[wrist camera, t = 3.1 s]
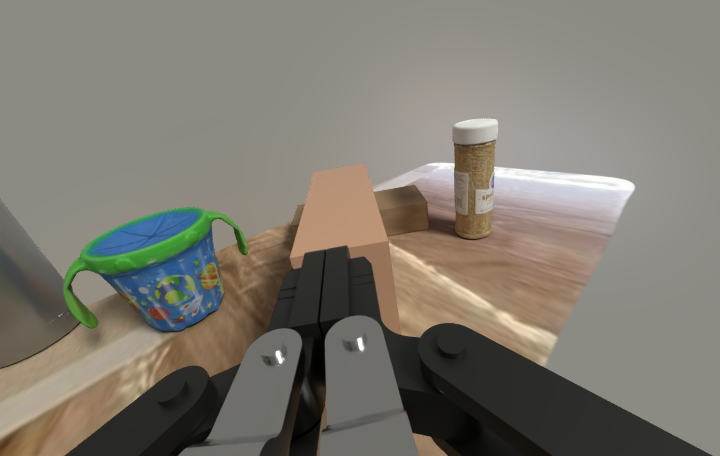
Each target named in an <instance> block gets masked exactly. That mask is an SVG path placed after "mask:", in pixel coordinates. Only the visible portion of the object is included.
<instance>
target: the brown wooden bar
mask: <svg viewBox="0 0 720 456" xmlns="http://www.w3.org/2000/svg"><path fill="white" fill-rule="evenodd" d="M374 195H375V199H376V202H377V205H378V208H379V212H380V215H381V218H382V222H383V225H384V228H385V231H386V235H387V236H392V235H397V234H403V233H409V232H415V231H420V230H426V229H429V223H428V207H427V201H426V200H425V198H424V197H423V196H422V194H421V193H420V191H419V190H418V189H417V187H416V186H415V185H411V186H405V187H400V188H394V189H388V190H383V191H377V192H374ZM304 206H305V204H304V205H298V207H297V209H296V212H295V215H294V219H293V221H292V224H291V228H292V231H293V234H294V238H295V237H296V234H297V230H298V227H299V223H300V220H301V216H302V213H303V209H304Z"/></svg>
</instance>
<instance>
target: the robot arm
mask: <svg viewBox="0 0 720 456" xmlns="http://www.w3.org/2000/svg"><path fill="white" fill-rule="evenodd" d="M63 286H64V279H63V278H62V277H61V275H60V274H59V273H58V272H57V270H56V269H55V268H54V267H53V265H52V264H51V263H50V261H49V260H48V259H47V258H46V256H45V255H44V254H43V253H42V251H41V250H40V249H39V247H38V246H37V245H36V244H35V242H34V241H33V240H32V239H31V237H30V236H29V235H28V233H27V232H26V231H25V230H24V228H23V227H22V226H21V225H20V223H19V222H18V221H17V220H16V218H15V217H14V216H13V214H12V213H11V212H10V211H9V210H8V208H7V207H6V206H5V204H4V203H3V202H2V201H1V199H0V368H1V367H5V366H8V365H11V364H13V363H16V362H18V361H21V360H23V359H25V358H27V357H29V356H32V355H34V354H35V353H37V352H39V351H41V350H43V349H45V348H46V347H48V346H50V345H51V344H53V343H54V342H56V341H57V340H59V339H60V338H62V337H63V336H64V335H66V334H67V333H68V332H70V331H71V330H72V329H73V328H74V327H75V326H76V325H77V324H78V323H79V322H80V321H78V320H77V319H76V318H75V316H74V315H73V314H72V312H71V311H70V309H69V308H68V306H67V304H66V301H65V297H64V293H63ZM73 294H74V293H73ZM74 295H75V294H74ZM75 296H76V295H75ZM76 297H77V296H76ZM77 298H78V297H77ZM78 300H79V299H78ZM79 301H80V300H79ZM80 302H81V301H80ZM81 303H82V302H81ZM325 400H326V403H327V408H326V405H325ZM413 433H416V434H421V435H425V436H430V437H431V438H432V439H433V441H434V442H435V443H436V444H437V446H438V447H439V448H441V449H442V450H443V451H444V452H445V453H446V454H447V455H448V456H712V455H710V454H708V453H706V452H704V451H703V450H701V449H699V448H697V447H695V446H693V445H691V444H689V443H687V442H685V441H683V440H682V439H680V438H678V437H676V436H674V435H672V434H670V433H668V432H666V431H664V430H662V429H660V428H659V427H657V426H655V425H653V424H651V423H649V422H647V421H645V420H643V419H641V418H640V417H638V416H636V415H634V414H632V413H630V412H628V411H626V410H624V409H622V408H620V407H618V406H617V405H615V404H613V403H611V402H609V401H607V400H605V399H603V398H601V397H599V396H598V395H596V394H594V393H592V392H590V391H588V390H586V389H584V388H582V387H580V386H578V385H577V384H575V383H573V382H571V381H569V380H567V379H565V378H563V377H561V376H559V375H557V374H556V373H554V372H552V371H550V370H548V369H546V368H544V367H542V366H540V365H538V364H536V363H535V362H533V361H531V360H529V359H527V358H525V357H523V356H521V355H519V354H517V353H516V352H514V351H512V350H510V349H508V348H506V347H504V346H502V345H500V344H498V343H496V342H495V341H493V340H491V339H489V338H487V337H485V336H483V335H481V334H479V333H477V332H475V331H474V330H472V329H470V328H468V327H465V326H463V325H459V324H454V323H443V324H438V325H435V326H432V327H431V328H429V329H427V330H426V331H425V332H424V333H423V334H422V336H421V338H419V337H409V336H403V335H400V334H397V333H395V332H393V331H391V330H389V329H388V328H387V327H386V326H385V325H384V324H383V322H382V319H381V313H380V307H379V302H378V296H377V291H376V285H375V280H374V274H373V269H372V264H371V263H370V262H369V261H368V260H367V259H366V258H365V257H364V256H363V257H357V258H352V259H351V258H350V253H349V249H348V246H347V245H345V246H339V247H334V248H328V249H327V250H326V249H323V250H317V251H312V252H306V253H305V254H304V257H303V262H302V266H301V268H296V269H292V270H291V271H290V272H289V273H288V275H287V276H286V277H285V278H284V279H283V282H282V286H281V289H280V292H279V295H278V301H277V302H276V305H275V309H274V312H273V315H272V319H271V322H270V325H269V329H268V332H267V333H266V334H264V335H262V336H261V337H259V338H258V339H257V340H256V341H254V342H253V344H252V345H251V346H250V347H249V349H248V350H247V352H246V354H245V356H244V358H243V361H242V363H241V364H239V365H237V366H235V367H232V368H230V369H228V370H226V371H223V372H221V373H219V374H217V375H214V376H212V377H209V375H208V373H207V372H206V370H205V369H204V368H202V367H199V366H188V367H184V368H181V369H178V370H176V371H174V372H172V373H171V374H169V375H167V376H166V377H164V378H163V379H162V380H160V381H159V382H158V383H156V384H155V385H154V386H153V387H151V388H150V389H149V390H148V391H146V392H145V393H144V394H142V395H141V396H140V397H139V398H137V399H136V400H135V401H134V402H132V403H131V404H130V405H129V406H127V407H126V408H125V409H123V410H122V411H121V412H120V413H118V414H117V415H116V416H115V417H113V418H112V419H111V420H110V421H108V422H107V423H106V424H104V425H103V426H102V427H101V428H99V429H98V430H97V431H96V432H94V433H93V434H92V435H90V436H89V437H88V438H87V439H85V440H84V441H83V442H82V443H80V444H79V445H78V446H77V447H75V448H74V449H73V450H71V451H70V452H69V453H68V454H66V455H65V456H419V455H418V451H417V448H416V444H415V440H414V437H413Z"/></svg>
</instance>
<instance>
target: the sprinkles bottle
mask: <svg viewBox="0 0 720 456" xmlns="http://www.w3.org/2000/svg"><path fill="white" fill-rule="evenodd" d="M497 135H498V121H497V120H495V119H473V120H466V121H462V122H458V123H456V124H455V125H454V126H453V142H454V147H455V168H454V188H455V210H456V225H455V232H456V233H457V234H458V235H459V236H461V237H464V238H469V239H479V238H484V237H486V236H488V235H489V234H491V233H492V230H493V228H492V208H493V192H494V160H495V159H494V158H495V156H494V155H495V142H496V140H495V139H496V138H497Z"/></svg>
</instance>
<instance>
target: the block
mask: <svg viewBox="0 0 720 456" xmlns="http://www.w3.org/2000/svg"><path fill="white" fill-rule="evenodd" d="M345 245H347V246H348V249H349V253H350V258H351V259H352V258H357V257H363V256H364V257H365V258H366V259H367V260H368V261H369V262H370V263H371V264H372V269H373V274H374V280H375V285H376V291H377V296H378V302H379V307H380V313H381V319H382V322H383V324H384V325H385V326H386V327H387V328H388V329H389V330H391V331H393V332H395V333H397V334H400V335H401V329H400V322H399V315H398V308H397V300H396V293H395V286H394V278H393V271H392V264H391V257H390V249H389V242H388V238H387V235H386V231H385V228H384V225H383V222H382V218H381V215H380V212H379V208H378V205H377V202H376V199H375V195H374V192H373V189H372V185H371V183H370V180H369V176H368V172H367V169H366V166H365V163H364V164H358V165H352V166H347V167H341V168H335V169H330V170H324V171H318V172H314V174H313V178H312V181H311V185H310V188H309V192H308V195H307V199H306V202H305V206H304V209H303V213H302V216H301V220H300V223H299V227H298V230H297V234H296V237H295V241H294V244H293V248H292V251H291V255H290V261H291V264H292V267H293V269H296V268H301V266H302V262H303V257H304V254H305V253H306V252H312V251H317V250H323V249H326V250H327V249H328V248H334V247H339V246H345Z"/></svg>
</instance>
